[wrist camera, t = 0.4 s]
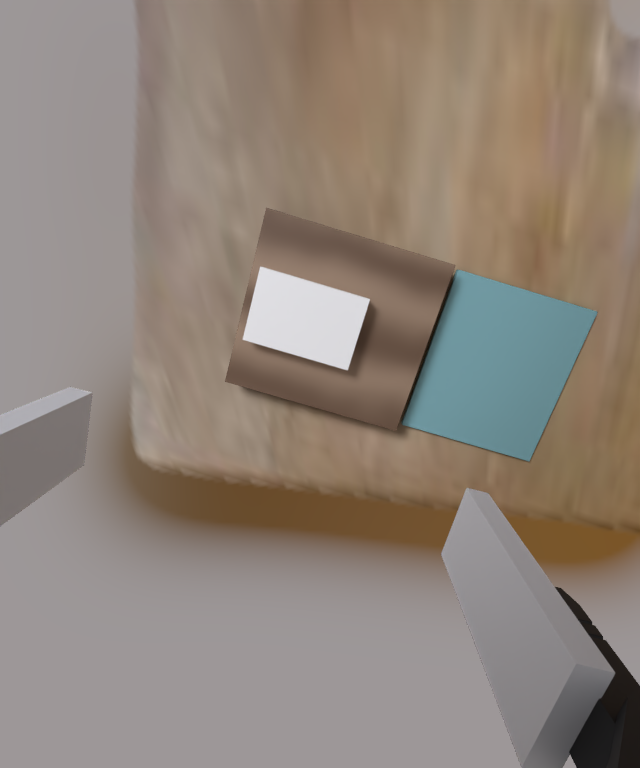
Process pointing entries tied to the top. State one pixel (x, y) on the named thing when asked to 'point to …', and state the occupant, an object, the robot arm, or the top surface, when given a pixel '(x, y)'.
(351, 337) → the white slab
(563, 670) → the robot arm
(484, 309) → the mat
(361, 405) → the brown wooden flat block
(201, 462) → the top surface
